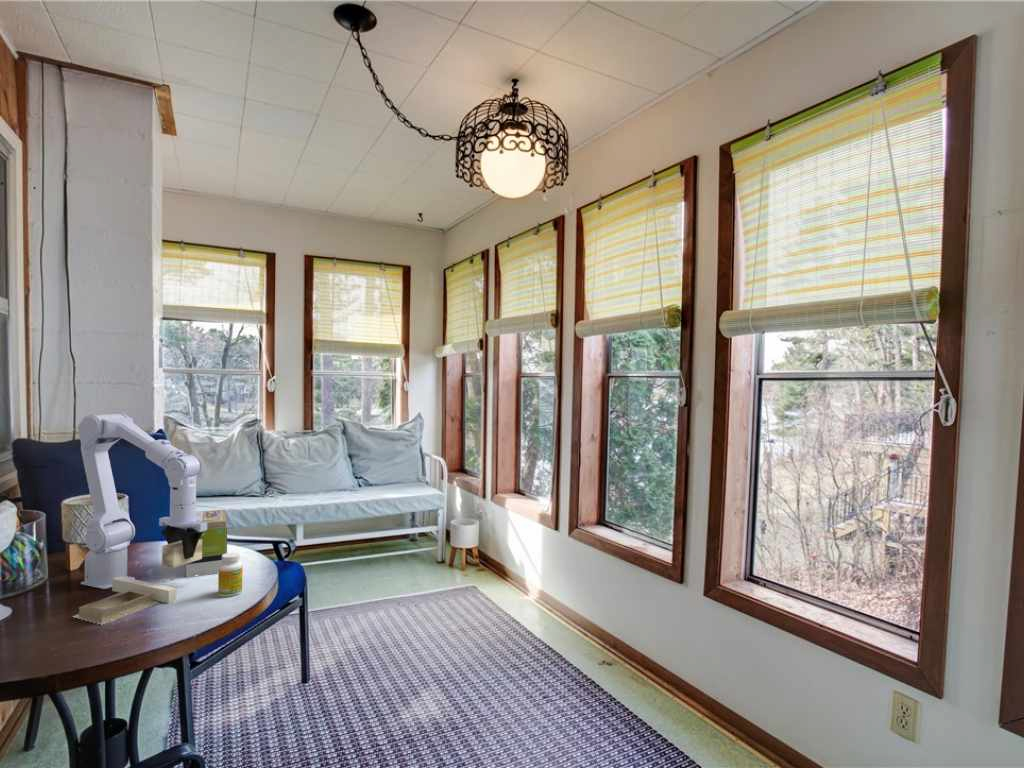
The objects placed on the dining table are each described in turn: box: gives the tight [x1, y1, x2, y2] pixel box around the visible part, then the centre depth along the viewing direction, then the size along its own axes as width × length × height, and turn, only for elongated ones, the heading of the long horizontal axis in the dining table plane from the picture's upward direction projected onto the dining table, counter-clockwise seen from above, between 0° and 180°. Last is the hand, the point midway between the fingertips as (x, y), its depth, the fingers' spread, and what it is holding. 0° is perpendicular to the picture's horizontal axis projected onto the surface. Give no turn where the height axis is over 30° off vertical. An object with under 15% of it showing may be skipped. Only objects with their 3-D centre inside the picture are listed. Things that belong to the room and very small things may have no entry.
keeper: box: [71, 590, 160, 626], centre depth 130 cm, size 10×13×2 cm
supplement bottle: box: [217, 552, 244, 598], centre depth 141 cm, size 5×5×10 cm
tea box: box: [185, 508, 228, 577], centre depth 161 cm, size 15×10×15 cm, turn 27°
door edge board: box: [111, 576, 177, 604], centre depth 139 cm, size 20×2×3 cm, turn 69°
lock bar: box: [161, 539, 202, 569], centre depth 143 cm, size 4×8×5 cm, turn 159°
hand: (182, 556), depth 143 cm, fingers closed on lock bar, 4 cm apart
